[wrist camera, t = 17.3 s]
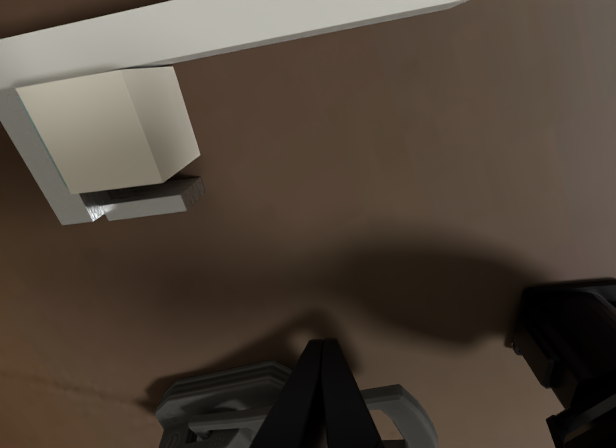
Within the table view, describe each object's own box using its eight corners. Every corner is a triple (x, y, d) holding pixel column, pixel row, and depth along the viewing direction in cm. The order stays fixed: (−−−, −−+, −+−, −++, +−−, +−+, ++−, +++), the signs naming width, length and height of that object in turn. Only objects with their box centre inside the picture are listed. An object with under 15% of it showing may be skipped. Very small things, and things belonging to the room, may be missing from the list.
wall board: (449, -43, 14) (481, -70, 11) (447, 9, 15) (476, -3, 12) (32, 48, 17) (-33, 46, 14) (51, 87, 18) (-6, 93, 15)
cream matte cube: (173, 66, 17) (119, 69, 13) (200, 154, 20) (163, 182, 15) (86, 81, 18) (7, 89, 14) (122, 165, 20) (64, 195, 16)
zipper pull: (452, 464, 22) (178, 512, 29) (427, 380, 28) (204, 435, 35) (410, 389, 19) (110, 463, 26) (391, 310, 25) (151, 387, 31)
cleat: (162, 65, 17) (119, 67, 14) (205, 191, 21) (179, 218, 17) (51, 87, 18) (-16, 94, 15) (109, 204, 22) (66, 232, 18)
